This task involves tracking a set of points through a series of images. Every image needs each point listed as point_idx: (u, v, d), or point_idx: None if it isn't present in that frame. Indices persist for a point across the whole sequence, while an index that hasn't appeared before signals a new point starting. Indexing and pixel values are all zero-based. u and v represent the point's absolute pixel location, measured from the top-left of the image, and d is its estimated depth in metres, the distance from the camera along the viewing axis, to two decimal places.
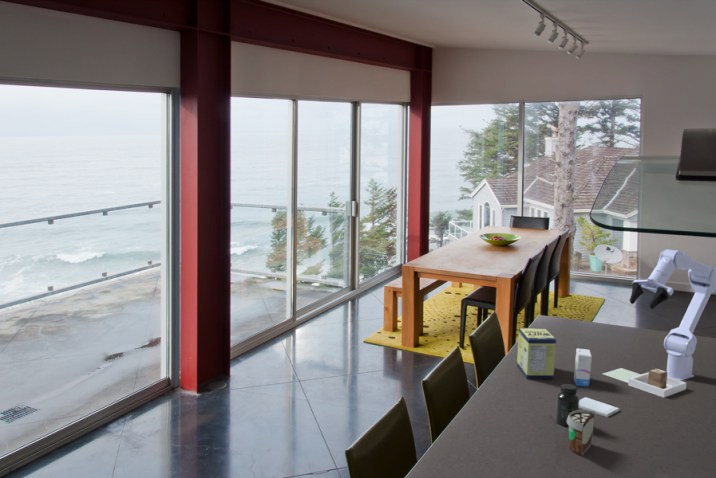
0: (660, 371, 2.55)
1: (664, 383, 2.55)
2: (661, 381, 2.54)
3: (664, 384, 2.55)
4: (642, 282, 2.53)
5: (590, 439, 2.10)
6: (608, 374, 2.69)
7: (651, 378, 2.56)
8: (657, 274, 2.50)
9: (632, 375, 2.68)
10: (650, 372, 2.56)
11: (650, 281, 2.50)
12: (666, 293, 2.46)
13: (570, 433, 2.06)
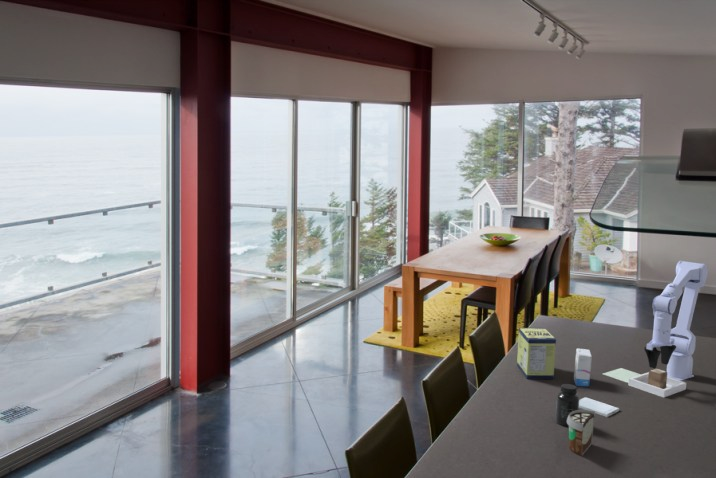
0: (660, 371, 2.55)
1: (664, 383, 2.55)
2: (661, 381, 2.54)
3: (664, 384, 2.55)
4: None
5: (590, 439, 2.10)
6: (608, 374, 2.69)
7: (651, 378, 2.56)
8: (669, 334, 2.52)
9: (632, 375, 2.68)
10: (650, 372, 2.56)
11: None
12: None
13: (570, 433, 2.06)
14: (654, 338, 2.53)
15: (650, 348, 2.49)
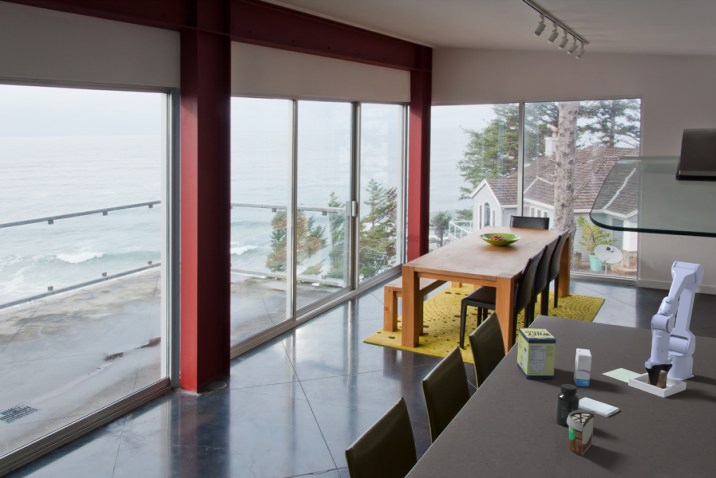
0: None
1: (664, 383, 2.55)
2: (661, 381, 2.54)
3: (664, 384, 2.55)
4: None
5: (590, 439, 2.10)
6: (608, 374, 2.69)
7: None
8: (668, 352, 2.53)
9: (632, 375, 2.68)
10: None
11: None
12: None
13: (570, 433, 2.06)
14: (652, 356, 2.54)
15: (648, 366, 2.51)
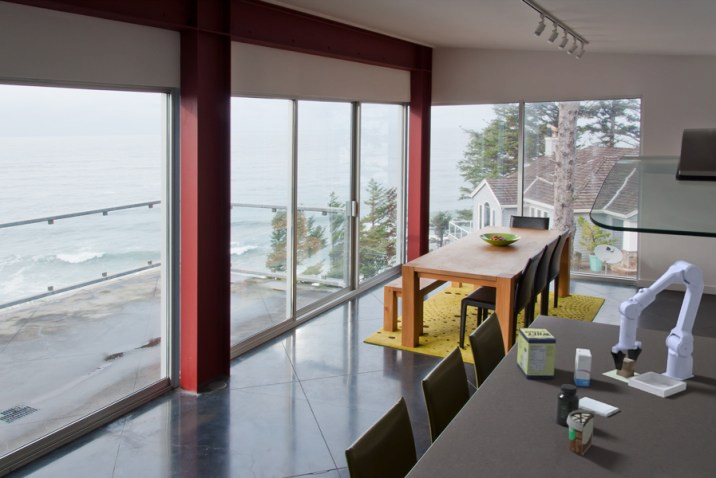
0: (628, 360, 2.67)
1: (632, 371, 2.67)
2: (628, 370, 2.65)
3: (632, 372, 2.67)
4: None
5: (590, 439, 2.10)
6: (608, 374, 2.69)
7: None
8: (635, 338, 2.64)
9: None
10: None
11: None
12: None
13: (570, 433, 2.06)
14: (620, 341, 2.66)
15: (615, 351, 2.62)
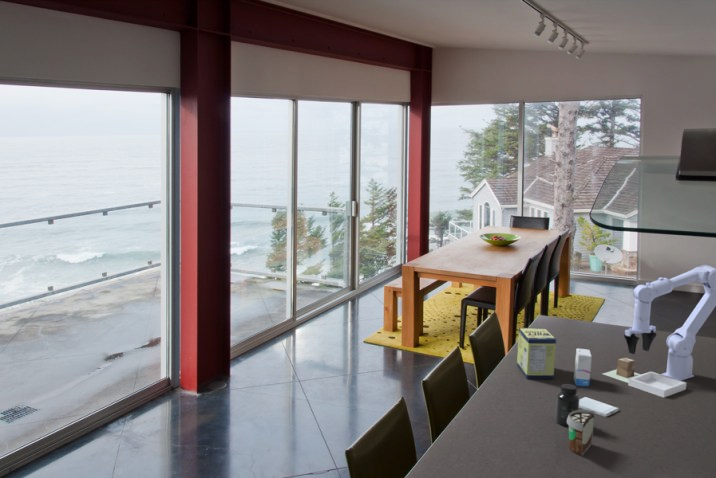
0: (628, 360, 2.67)
1: (632, 371, 2.67)
2: (628, 370, 2.65)
3: (632, 372, 2.67)
4: None
5: (590, 439, 2.10)
6: (608, 374, 2.69)
7: (620, 366, 2.67)
8: (648, 322, 2.64)
9: None
10: (618, 361, 2.67)
11: None
12: None
13: (570, 433, 2.06)
14: (634, 325, 2.66)
15: (628, 334, 2.63)
